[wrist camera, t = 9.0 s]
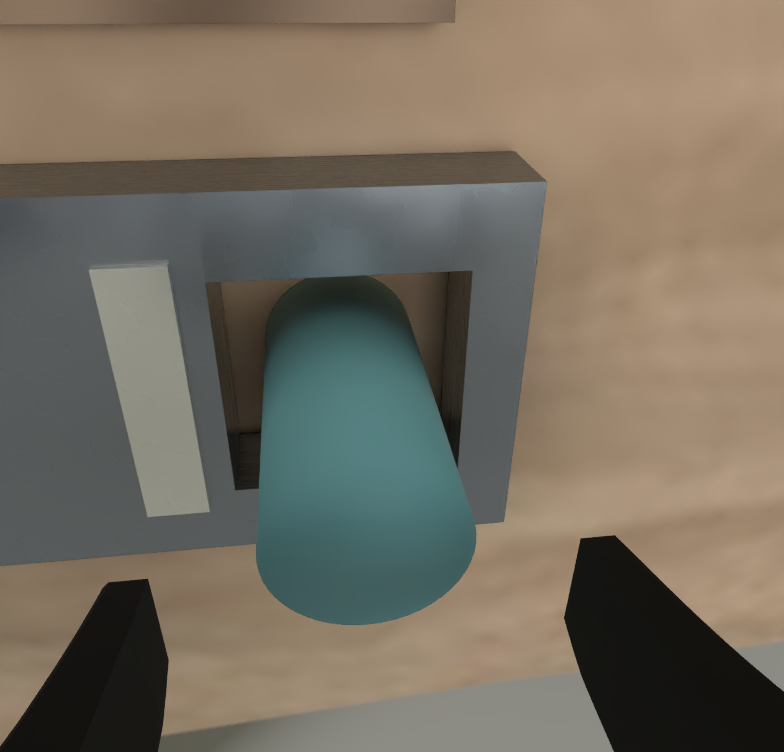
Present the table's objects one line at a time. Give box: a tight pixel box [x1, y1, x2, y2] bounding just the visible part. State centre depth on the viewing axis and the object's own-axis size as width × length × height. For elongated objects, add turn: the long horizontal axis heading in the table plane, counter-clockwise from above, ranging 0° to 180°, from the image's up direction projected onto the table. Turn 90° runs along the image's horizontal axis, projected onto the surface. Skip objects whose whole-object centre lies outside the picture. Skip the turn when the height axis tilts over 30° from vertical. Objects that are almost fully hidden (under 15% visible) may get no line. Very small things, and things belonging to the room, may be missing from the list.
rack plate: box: [0, 152, 547, 566], centre depth 18 cm, size 17×10×3 cm, turn 90°
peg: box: [256, 275, 476, 625], centre depth 16 cm, size 4×4×8 cm
